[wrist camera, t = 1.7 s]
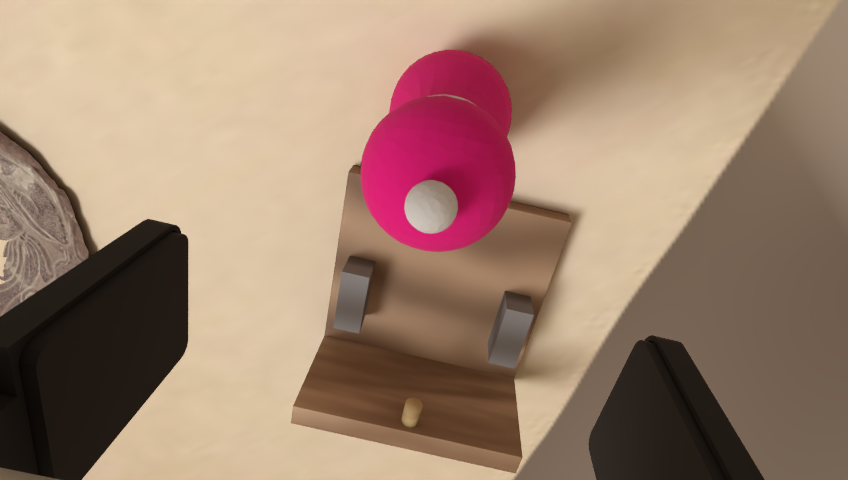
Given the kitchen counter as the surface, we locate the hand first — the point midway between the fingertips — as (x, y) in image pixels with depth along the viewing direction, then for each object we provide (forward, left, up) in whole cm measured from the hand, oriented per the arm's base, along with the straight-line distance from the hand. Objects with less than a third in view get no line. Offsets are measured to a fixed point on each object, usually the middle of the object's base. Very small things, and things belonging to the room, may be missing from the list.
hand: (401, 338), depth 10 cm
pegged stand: (+14, +2, -26) cm, 30 cm away
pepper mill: (0, 0, -26) cm, 26 cm away
